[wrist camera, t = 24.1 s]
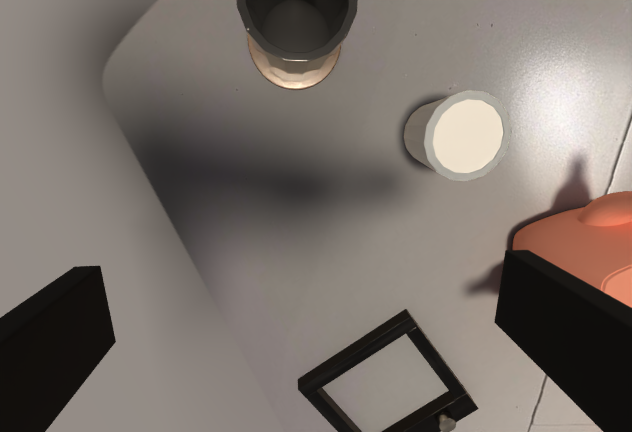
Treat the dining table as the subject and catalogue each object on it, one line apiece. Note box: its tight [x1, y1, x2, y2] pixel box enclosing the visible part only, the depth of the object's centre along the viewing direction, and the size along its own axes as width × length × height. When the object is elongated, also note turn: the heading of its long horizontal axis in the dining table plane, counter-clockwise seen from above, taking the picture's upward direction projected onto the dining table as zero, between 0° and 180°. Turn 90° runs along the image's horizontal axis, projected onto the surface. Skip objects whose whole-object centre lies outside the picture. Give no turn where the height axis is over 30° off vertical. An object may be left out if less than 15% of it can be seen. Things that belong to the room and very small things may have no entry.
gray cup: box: [237, 0, 357, 81], centre depth 24 cm, size 7×7×11 cm
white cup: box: [404, 90, 511, 181], centre depth 29 cm, size 7×7×7 cm
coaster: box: [248, 34, 341, 90], centre depth 29 cm, size 8×8×1 cm
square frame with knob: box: [298, 309, 478, 432], centre depth 40 cm, size 16×15×2 cm
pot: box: [513, 191, 632, 357], centre depth 32 cm, size 18×17×12 cm
